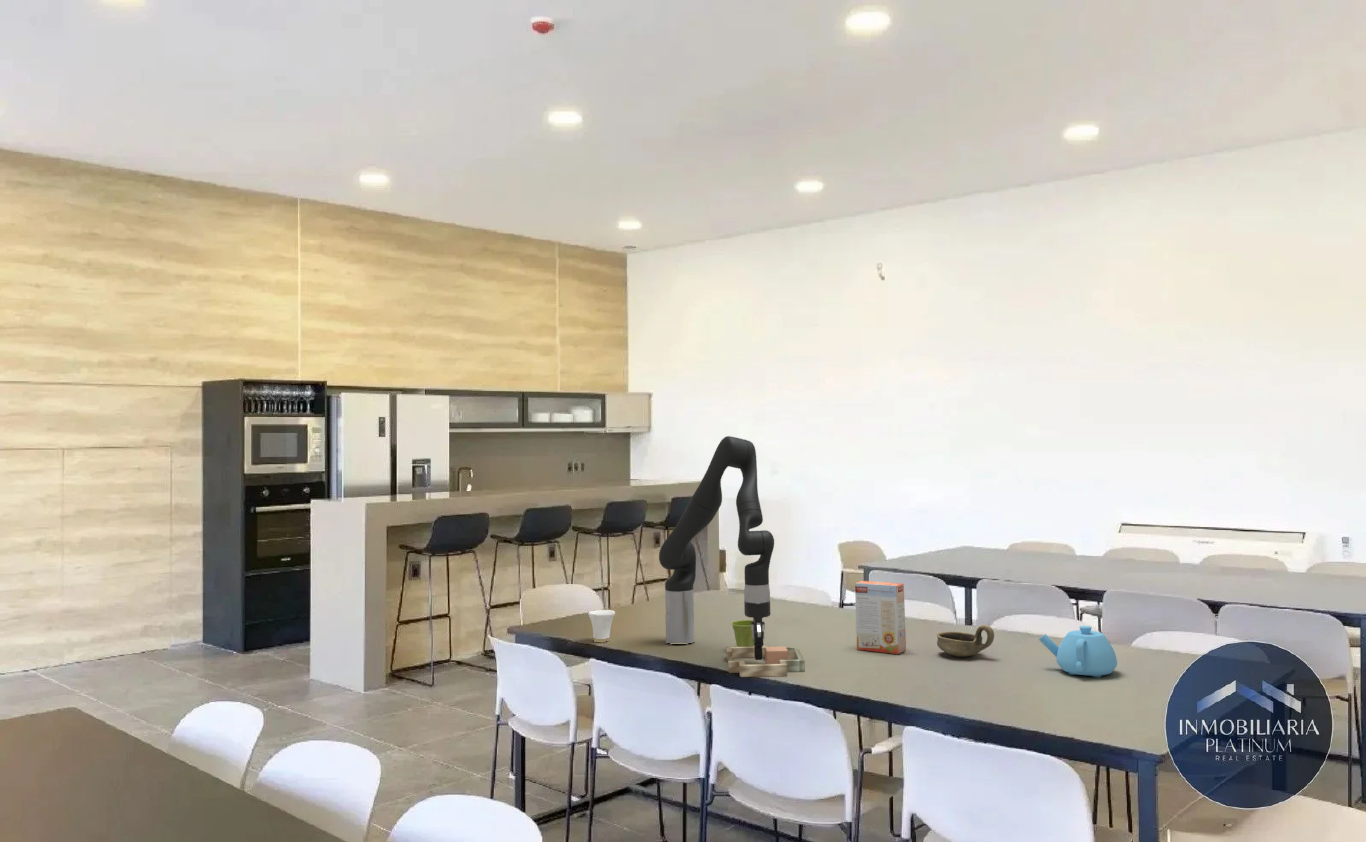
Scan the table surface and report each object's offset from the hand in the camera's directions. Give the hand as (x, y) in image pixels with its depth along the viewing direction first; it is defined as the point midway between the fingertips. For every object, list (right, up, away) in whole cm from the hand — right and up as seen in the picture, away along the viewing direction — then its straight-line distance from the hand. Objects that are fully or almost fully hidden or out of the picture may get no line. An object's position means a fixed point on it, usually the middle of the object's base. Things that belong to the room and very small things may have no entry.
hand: (758, 659), depth 284 cm
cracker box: (+39, -2, +16) cm, 42 cm away
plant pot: (-2, -3, +21) cm, 21 cm away
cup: (-49, -4, +40) cm, 63 cm away
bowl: (+62, -1, +6) cm, 62 cm away
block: (+5, -2, 0) cm, 6 cm away
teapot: (+86, 0, -16) cm, 88 cm away
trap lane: (+1, -2, 0) cm, 2 cm away
